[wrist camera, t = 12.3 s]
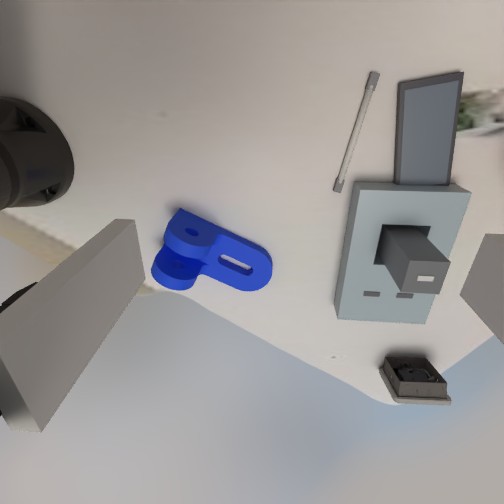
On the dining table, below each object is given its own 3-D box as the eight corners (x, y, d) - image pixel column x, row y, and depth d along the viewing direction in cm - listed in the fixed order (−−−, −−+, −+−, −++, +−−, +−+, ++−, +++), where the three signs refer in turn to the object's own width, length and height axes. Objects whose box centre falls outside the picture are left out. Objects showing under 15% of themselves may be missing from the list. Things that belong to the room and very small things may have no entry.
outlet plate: (333, 304, 54) (337, 320, 50) (353, 181, 43) (360, 190, 40) (415, 308, 53) (425, 325, 49) (456, 184, 42) (472, 193, 39)
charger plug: (374, 247, 48) (401, 293, 37) (380, 220, 45) (410, 261, 35) (403, 248, 47) (439, 295, 37) (411, 221, 45) (451, 263, 34)
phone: (393, 192, 44) (395, 195, 43) (397, 83, 37) (400, 83, 36) (445, 185, 43) (449, 188, 42) (459, 72, 36) (464, 71, 35)
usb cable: (339, 191, 44) (340, 193, 44) (332, 190, 44) (333, 191, 43) (378, 74, 37) (380, 73, 36) (370, 72, 37) (372, 72, 36)
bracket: (164, 248, 52) (143, 277, 44) (180, 207, 48) (160, 231, 40) (258, 291, 54) (255, 325, 46) (281, 255, 50) (281, 286, 42)
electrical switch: (377, 370, 61) (393, 410, 52) (380, 349, 59) (397, 388, 50) (426, 371, 60) (450, 412, 51) (431, 351, 58) (457, 390, 49)
